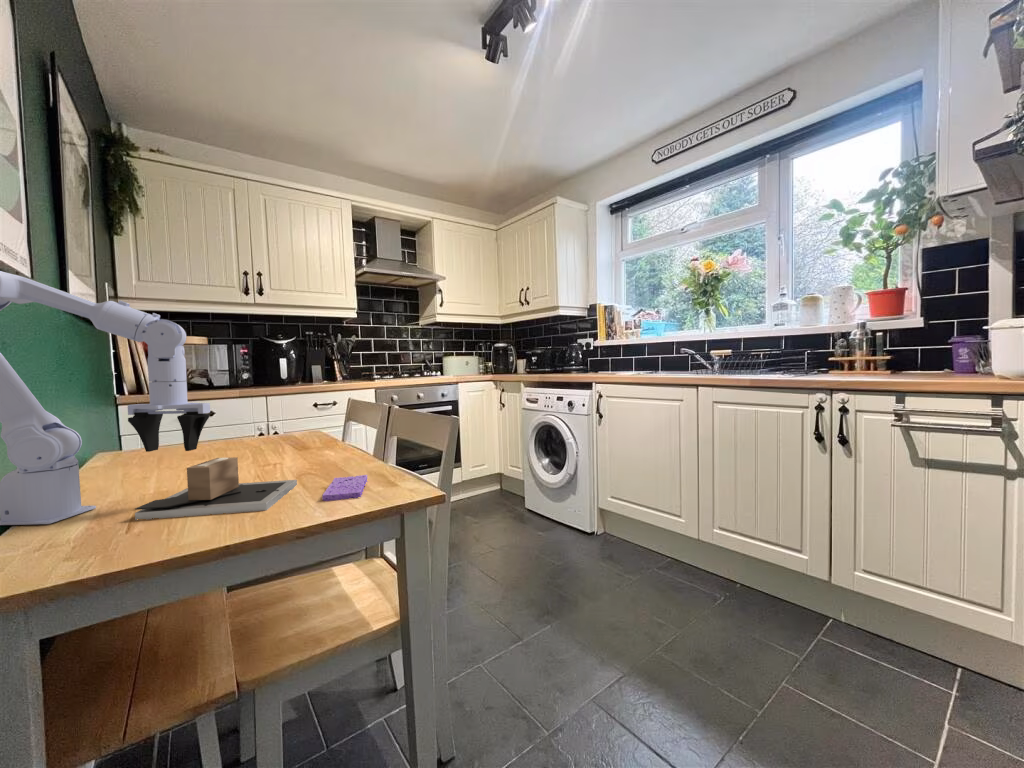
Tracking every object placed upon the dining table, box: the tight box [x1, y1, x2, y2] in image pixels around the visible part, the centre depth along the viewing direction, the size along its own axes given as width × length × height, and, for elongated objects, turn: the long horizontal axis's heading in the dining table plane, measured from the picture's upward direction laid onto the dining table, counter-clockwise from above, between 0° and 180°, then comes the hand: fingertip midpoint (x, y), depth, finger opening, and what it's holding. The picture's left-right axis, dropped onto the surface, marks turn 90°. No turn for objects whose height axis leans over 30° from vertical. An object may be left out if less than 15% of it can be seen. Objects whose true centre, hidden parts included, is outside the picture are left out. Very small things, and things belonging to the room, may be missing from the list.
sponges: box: [321, 474, 368, 502], centre depth 84 cm, size 7×13×2 cm, turn 14°
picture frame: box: [134, 479, 298, 521], centre depth 79 cm, size 16×3×21 cm
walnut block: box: [186, 457, 240, 500], centre depth 78 cm, size 8×4×6 cm, turn 2°
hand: (171, 450), depth 80 cm, fingers open, 7 cm apart
